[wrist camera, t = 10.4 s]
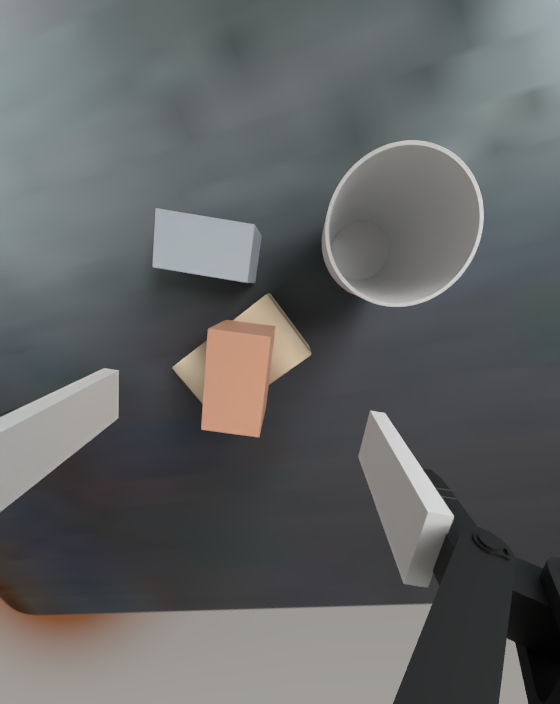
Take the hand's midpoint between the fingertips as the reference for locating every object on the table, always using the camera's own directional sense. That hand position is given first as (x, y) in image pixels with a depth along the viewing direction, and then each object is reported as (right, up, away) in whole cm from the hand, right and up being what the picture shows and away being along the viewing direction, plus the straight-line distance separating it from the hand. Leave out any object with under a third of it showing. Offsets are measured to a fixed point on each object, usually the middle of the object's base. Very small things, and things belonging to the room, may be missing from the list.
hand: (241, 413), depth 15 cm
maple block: (-1, +3, +13) cm, 13 cm away
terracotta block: (-1, +2, +9) cm, 9 cm away
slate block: (-3, +12, +10) cm, 16 cm away
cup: (+9, +12, +10) cm, 18 cm away
